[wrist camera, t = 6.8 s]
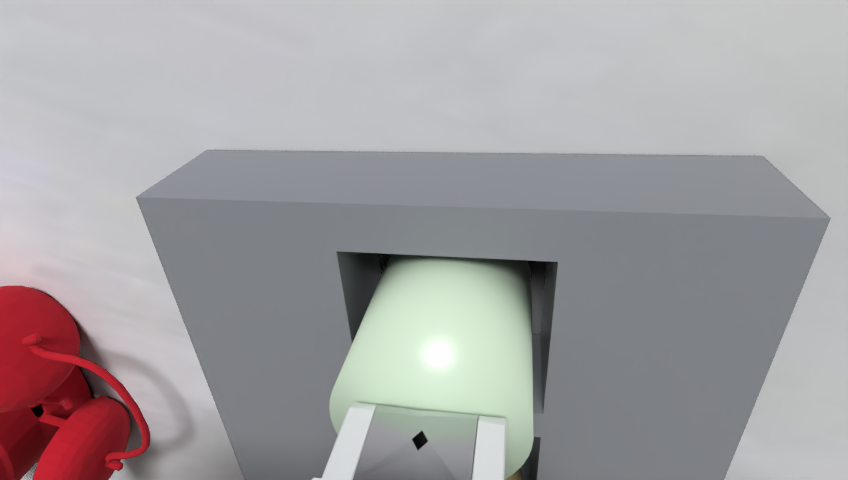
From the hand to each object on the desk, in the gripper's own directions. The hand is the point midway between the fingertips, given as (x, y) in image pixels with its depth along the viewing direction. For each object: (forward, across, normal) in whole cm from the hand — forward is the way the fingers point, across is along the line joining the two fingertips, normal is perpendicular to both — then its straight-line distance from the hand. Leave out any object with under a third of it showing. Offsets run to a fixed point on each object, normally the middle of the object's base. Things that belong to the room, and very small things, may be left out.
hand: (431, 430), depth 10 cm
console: (+6, 0, +6) cm, 8 cm away
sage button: (+5, 0, 0) cm, 5 cm away
